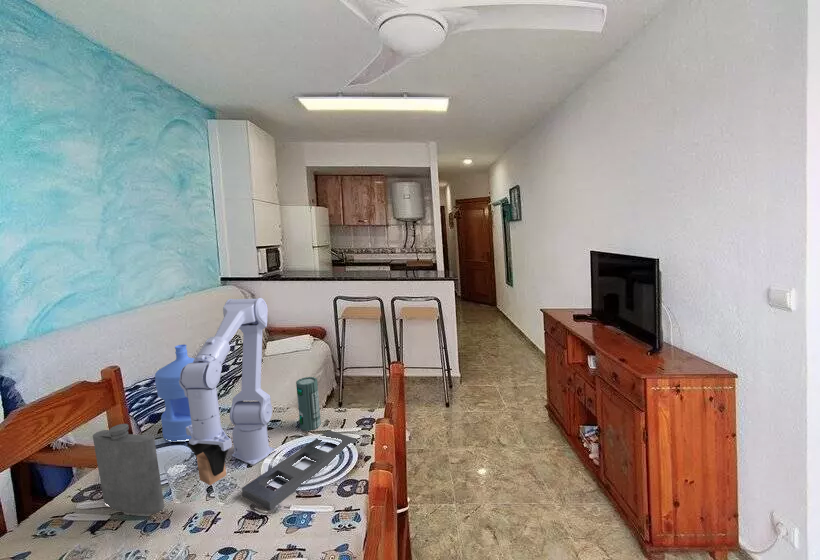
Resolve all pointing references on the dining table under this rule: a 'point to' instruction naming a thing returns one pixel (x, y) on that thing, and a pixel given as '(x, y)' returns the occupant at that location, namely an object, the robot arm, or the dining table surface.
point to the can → (308, 403)
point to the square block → (207, 470)
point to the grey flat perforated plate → (293, 472)
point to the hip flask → (128, 470)
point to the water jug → (174, 397)
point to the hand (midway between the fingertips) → (212, 470)
